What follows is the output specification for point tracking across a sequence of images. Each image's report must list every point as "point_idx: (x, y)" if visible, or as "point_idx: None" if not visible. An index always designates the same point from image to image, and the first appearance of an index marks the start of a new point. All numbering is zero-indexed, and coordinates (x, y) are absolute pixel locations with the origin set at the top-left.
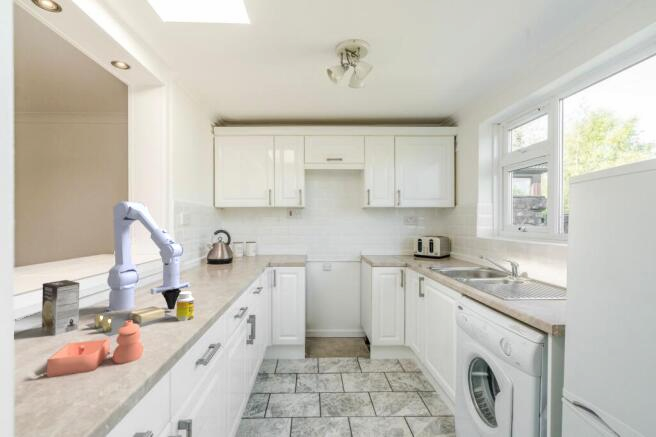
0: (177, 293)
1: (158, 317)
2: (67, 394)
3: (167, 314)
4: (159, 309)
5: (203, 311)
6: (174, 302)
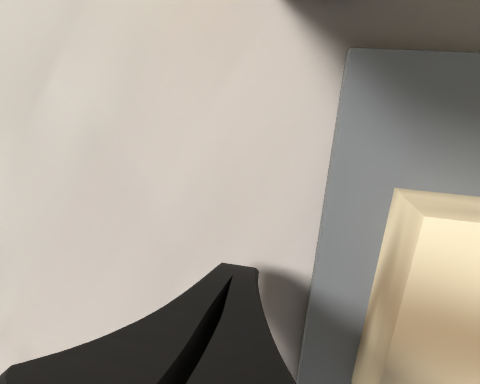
0: (95, 380)
1: (476, 200)
2: None
3: (326, 225)
4: (438, 295)
5: (34, 34)
6: (205, 296)
